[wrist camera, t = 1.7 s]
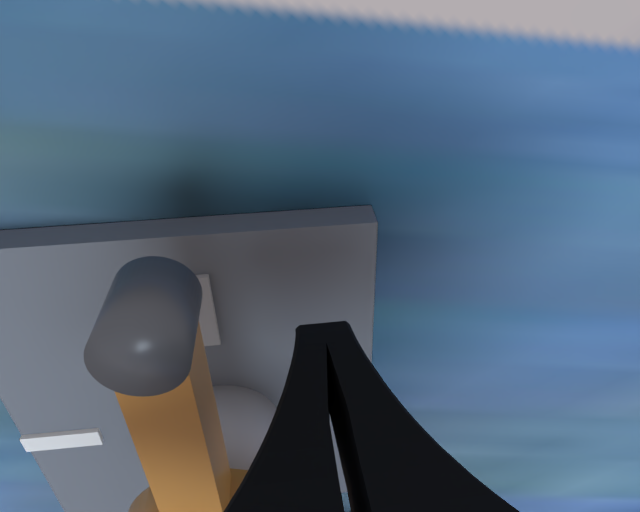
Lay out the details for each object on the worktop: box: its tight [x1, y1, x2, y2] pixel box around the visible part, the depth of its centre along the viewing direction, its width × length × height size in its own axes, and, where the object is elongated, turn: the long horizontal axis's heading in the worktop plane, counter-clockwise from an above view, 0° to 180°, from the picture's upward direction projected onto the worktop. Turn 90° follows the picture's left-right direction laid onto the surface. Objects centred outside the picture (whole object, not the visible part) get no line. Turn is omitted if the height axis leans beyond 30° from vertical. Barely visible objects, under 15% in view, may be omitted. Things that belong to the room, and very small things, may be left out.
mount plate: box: [0, 205, 378, 512], centre depth 18 cm, size 15×14×5 cm
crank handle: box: [84, 256, 248, 512], centre depth 14 cm, size 14×6×3 cm, turn 1°
